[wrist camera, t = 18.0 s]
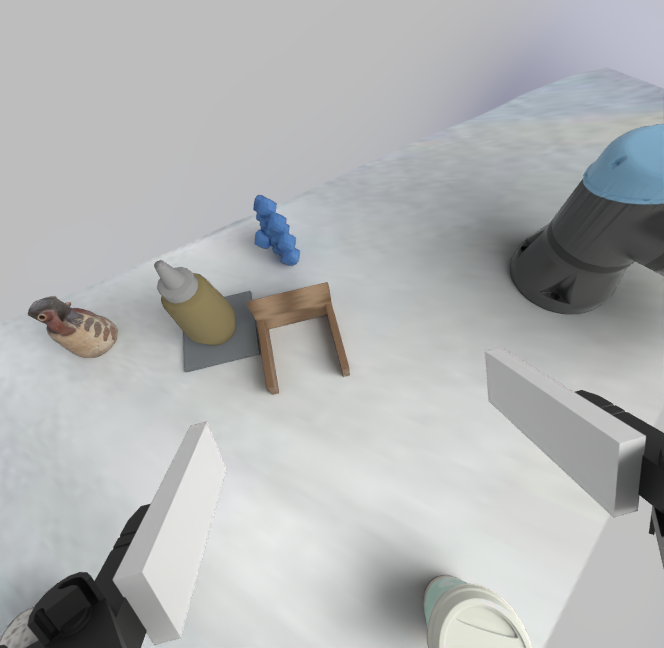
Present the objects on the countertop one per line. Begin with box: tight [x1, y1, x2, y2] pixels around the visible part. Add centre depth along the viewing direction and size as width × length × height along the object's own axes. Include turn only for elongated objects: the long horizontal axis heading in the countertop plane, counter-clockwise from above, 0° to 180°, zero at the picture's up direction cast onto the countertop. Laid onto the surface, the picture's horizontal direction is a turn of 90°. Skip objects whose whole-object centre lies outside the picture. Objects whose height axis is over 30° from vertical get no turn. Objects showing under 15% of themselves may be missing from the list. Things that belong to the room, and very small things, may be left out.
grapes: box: [254, 195, 300, 266], centre depth 55 cm, size 12×7×12 cm, turn 33°
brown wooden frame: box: [247, 282, 350, 395], centre depth 48 cm, size 12×12×8 cm
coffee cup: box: [423, 575, 532, 648], centre depth 32 cm, size 8×8×12 cm
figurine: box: [28, 296, 117, 358], centre depth 50 cm, size 7×7×12 cm
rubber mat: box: [183, 291, 260, 372], centre depth 54 cm, size 12×12×1 cm
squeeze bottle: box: [154, 260, 235, 346], centre depth 46 cm, size 8×8×18 cm
